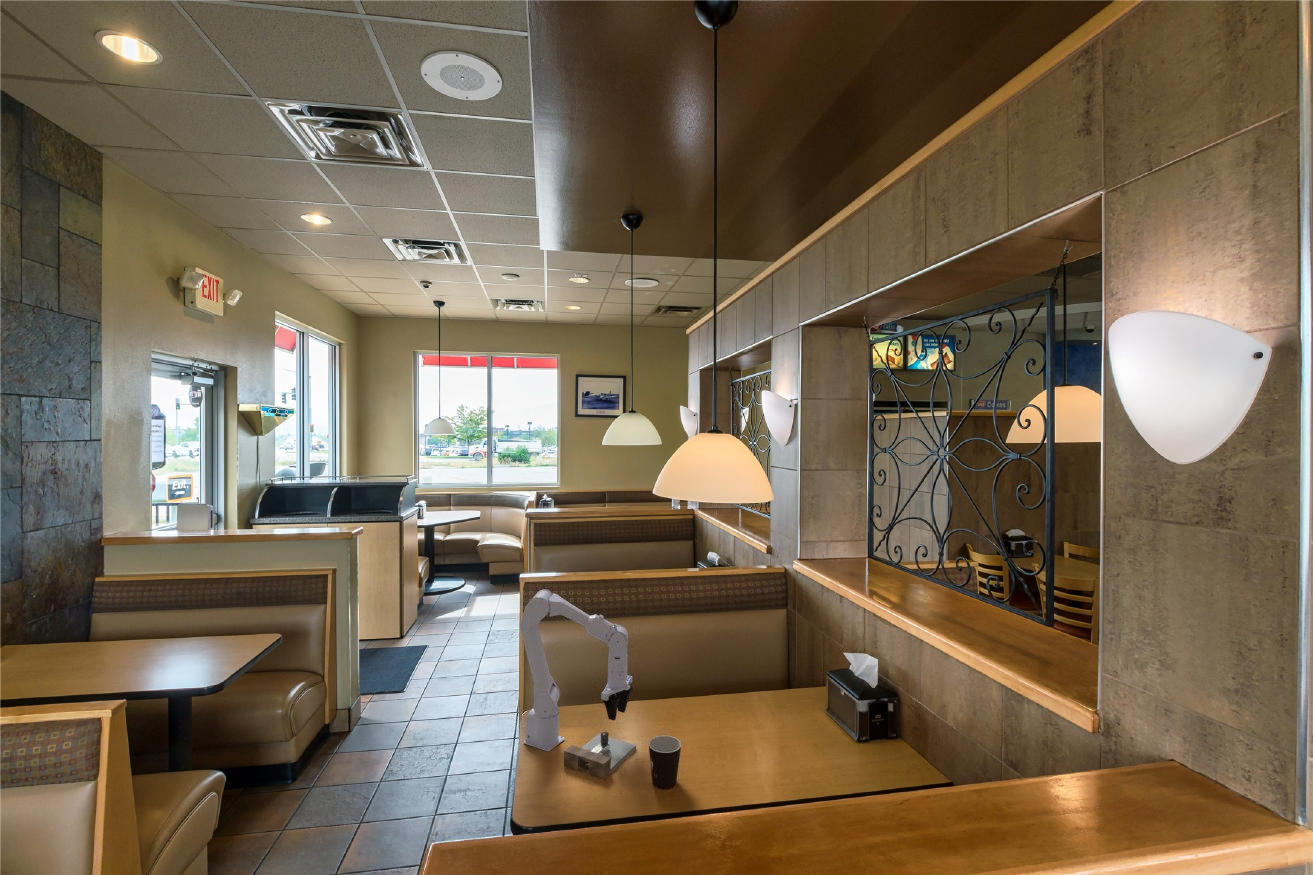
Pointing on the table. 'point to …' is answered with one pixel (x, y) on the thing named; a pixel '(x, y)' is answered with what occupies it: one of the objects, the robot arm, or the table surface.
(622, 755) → the door panel
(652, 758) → the coffee mug
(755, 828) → the table surface
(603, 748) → the bolt
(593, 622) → the robot arm
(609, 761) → the block
